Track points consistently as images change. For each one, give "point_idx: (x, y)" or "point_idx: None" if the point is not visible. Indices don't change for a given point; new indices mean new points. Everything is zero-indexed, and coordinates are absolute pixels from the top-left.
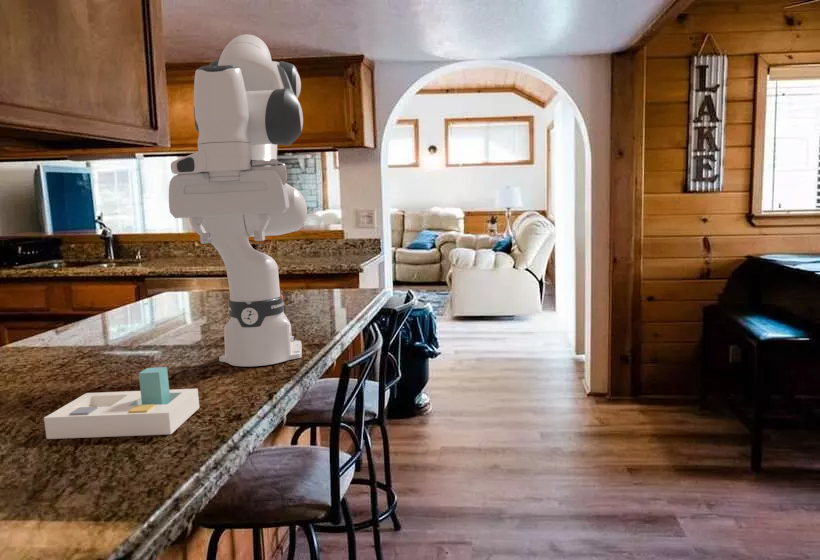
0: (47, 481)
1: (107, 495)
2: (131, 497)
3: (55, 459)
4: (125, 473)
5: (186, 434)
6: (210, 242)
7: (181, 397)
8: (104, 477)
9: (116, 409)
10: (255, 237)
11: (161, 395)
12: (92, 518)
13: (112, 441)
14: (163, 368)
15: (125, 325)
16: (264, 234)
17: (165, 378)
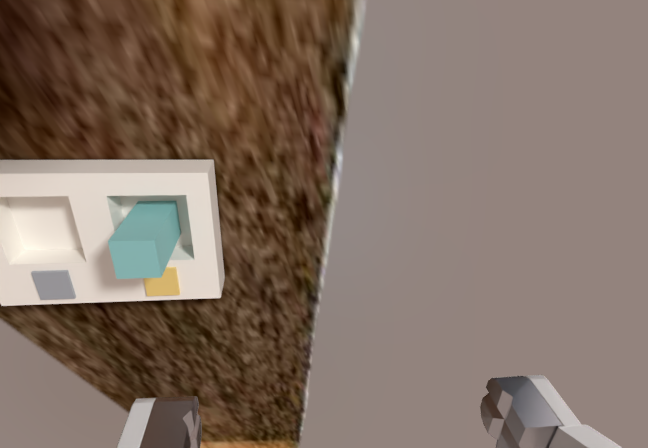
0: (145, 386)
1: (237, 408)
2: (264, 411)
3: (103, 340)
4: (227, 371)
5: (247, 272)
6: (197, 409)
7: (202, 226)
8: (208, 379)
9: (111, 277)
10: (495, 431)
11: (172, 251)
12: (249, 438)
13: None
14: (153, 250)
15: None
16: (559, 403)
17: (162, 242)
